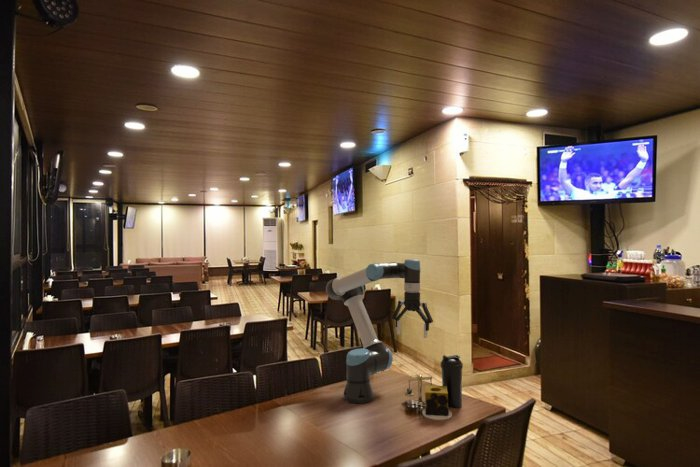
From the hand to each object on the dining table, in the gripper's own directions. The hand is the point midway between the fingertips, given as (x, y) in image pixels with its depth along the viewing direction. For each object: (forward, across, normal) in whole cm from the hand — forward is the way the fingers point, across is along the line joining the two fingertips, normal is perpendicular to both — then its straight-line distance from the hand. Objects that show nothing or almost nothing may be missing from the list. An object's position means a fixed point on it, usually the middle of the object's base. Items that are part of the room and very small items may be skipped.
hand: (411, 335), depth 200 cm
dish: (+32, +15, -6) cm, 36 cm away
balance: (+32, +4, +2) cm, 33 cm away
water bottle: (+32, +17, +8) cm, 38 cm away
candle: (+31, +15, -6) cm, 35 cm away
